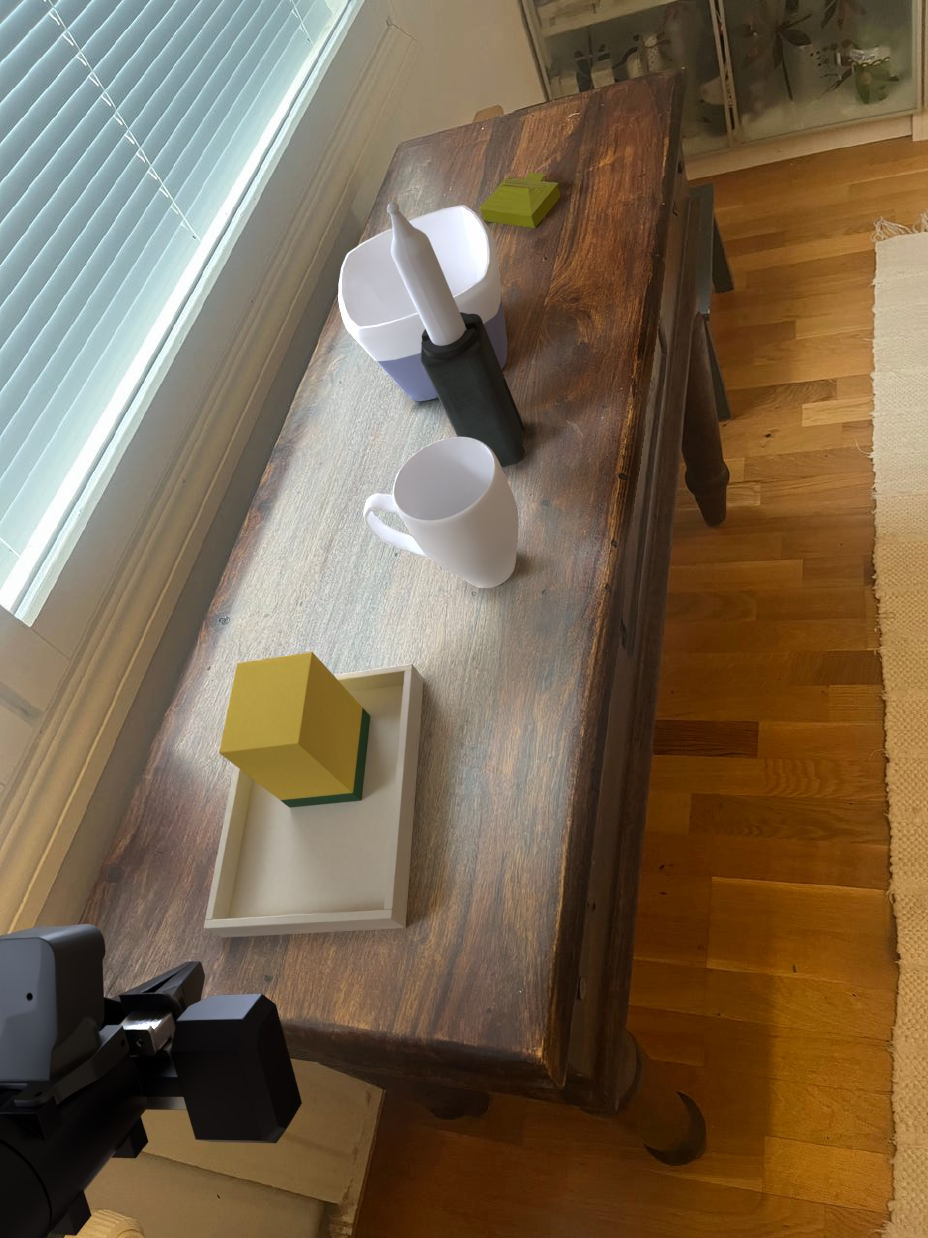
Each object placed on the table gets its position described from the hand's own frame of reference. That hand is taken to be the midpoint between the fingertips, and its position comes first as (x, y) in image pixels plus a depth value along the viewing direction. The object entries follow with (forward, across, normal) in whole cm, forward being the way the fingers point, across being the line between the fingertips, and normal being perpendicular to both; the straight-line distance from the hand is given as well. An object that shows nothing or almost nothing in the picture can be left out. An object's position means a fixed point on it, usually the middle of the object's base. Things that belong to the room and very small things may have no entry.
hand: (197, 968), depth 52 cm
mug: (+33, -10, -15) cm, 38 cm away
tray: (+19, 0, -2) cm, 19 cm away
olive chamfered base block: (+68, -15, -50) cm, 85 cm away
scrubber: (+21, 0, -4) cm, 22 cm away
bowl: (+52, -8, -34) cm, 63 cm away
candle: (+43, -13, -25) cm, 51 cm away
